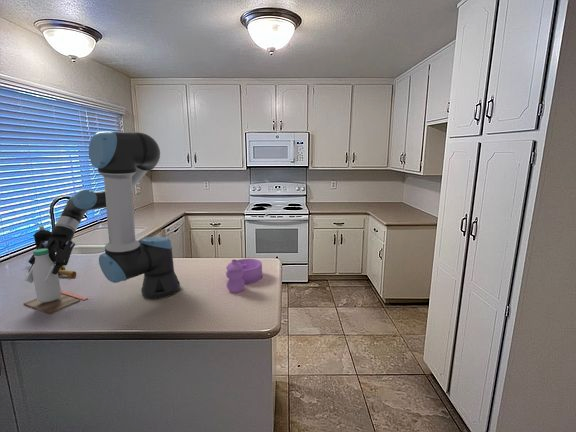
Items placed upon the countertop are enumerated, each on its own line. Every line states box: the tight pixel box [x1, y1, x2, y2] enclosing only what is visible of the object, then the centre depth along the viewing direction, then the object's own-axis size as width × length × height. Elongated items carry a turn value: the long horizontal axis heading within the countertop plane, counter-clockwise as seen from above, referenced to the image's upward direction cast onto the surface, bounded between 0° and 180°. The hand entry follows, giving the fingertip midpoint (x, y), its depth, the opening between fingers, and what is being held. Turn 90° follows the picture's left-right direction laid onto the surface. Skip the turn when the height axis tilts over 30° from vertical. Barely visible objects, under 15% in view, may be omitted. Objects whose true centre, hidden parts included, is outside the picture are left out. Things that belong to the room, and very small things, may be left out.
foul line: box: [61, 289, 89, 302], centre depth 131 cm, size 20×2×1 cm, turn 64°
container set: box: [225, 258, 263, 294], centre depth 140 cm, size 25×15×13 cm, turn 170°
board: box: [23, 294, 81, 315], centre depth 125 cm, size 18×11×1 cm, turn 64°
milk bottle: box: [32, 249, 63, 303], centre depth 122 cm, size 8×8×20 cm
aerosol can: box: [33, 225, 56, 263], centre depth 172 cm, size 8×8×20 cm
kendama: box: [58, 266, 77, 279], centre depth 153 cm, size 8×6×18 cm
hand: (38, 281), depth 119 cm, fingers closed on milk bottle, 7 cm apart
